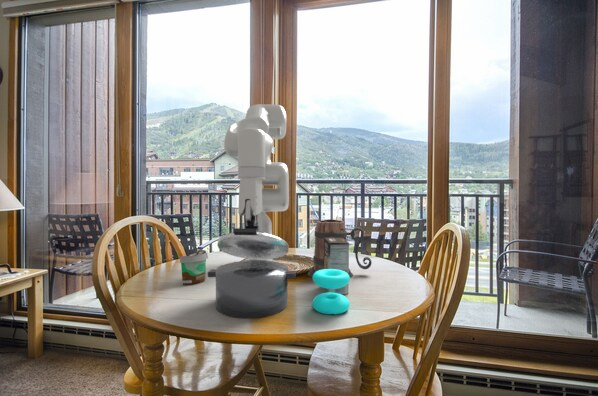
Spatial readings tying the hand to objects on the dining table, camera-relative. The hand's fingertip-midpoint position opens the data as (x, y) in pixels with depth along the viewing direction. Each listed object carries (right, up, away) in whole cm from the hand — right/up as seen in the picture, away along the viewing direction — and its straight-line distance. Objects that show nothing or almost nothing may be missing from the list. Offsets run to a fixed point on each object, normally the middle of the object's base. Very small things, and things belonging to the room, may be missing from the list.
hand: (252, 239), depth 92 cm
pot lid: (0, -2, +1) cm, 2 cm away
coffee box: (+25, -18, +13) cm, 33 cm away
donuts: (+22, -19, -3) cm, 29 cm away
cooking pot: (0, -18, +1) cm, 18 cm away
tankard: (+28, -17, +31) cm, 45 cm away
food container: (-22, -17, +21) cm, 35 cm away
